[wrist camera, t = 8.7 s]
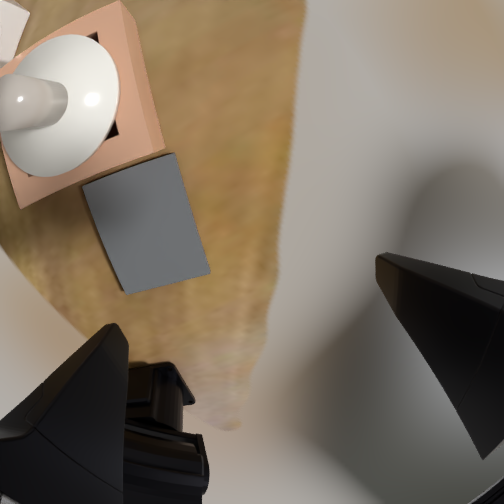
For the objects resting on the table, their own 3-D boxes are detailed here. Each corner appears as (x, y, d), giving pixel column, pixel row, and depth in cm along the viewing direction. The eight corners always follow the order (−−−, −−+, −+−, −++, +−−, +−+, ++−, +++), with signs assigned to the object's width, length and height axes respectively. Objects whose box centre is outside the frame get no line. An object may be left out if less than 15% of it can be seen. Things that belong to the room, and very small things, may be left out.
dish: (165, 147, 18) (154, 152, 14) (48, 194, 17) (20, 209, 14) (135, 20, 13) (119, -1, 10) (21, 79, 13) (-9, 76, 10)
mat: (210, 269, 22) (210, 273, 21) (128, 290, 22) (126, 294, 21) (174, 152, 18) (173, 153, 17) (85, 184, 18) (82, 186, 17)
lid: (136, 143, 14) (101, 152, 9) (24, 194, 14) (-27, 221, 9) (108, 15, 10) (72, -20, 5) (-1, 79, 10) (-52, 77, 5)
